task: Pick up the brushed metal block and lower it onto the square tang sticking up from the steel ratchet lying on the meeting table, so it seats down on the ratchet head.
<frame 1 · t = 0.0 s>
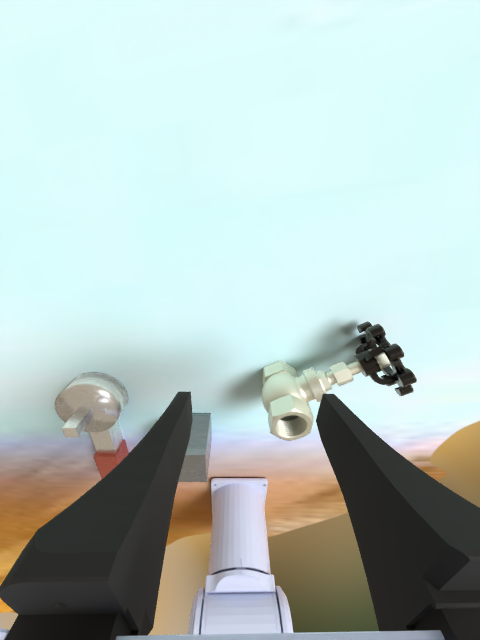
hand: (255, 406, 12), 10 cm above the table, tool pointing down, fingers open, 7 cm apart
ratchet: (100, 393, 25), on the table
brushed metal block: (193, 426, 27), on the table
valve: (311, 358, 23), on the table
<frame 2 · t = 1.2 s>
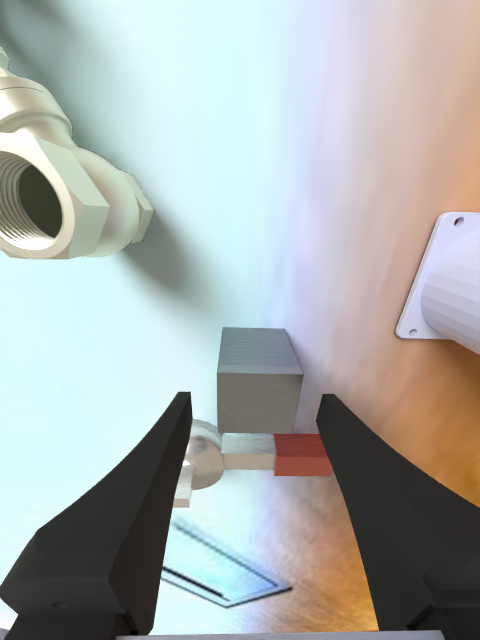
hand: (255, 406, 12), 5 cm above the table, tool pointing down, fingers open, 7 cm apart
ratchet: (192, 441, 21), on the table
brushed metal block: (252, 354, 17), on the table
valve: (71, 133, 11), on the table
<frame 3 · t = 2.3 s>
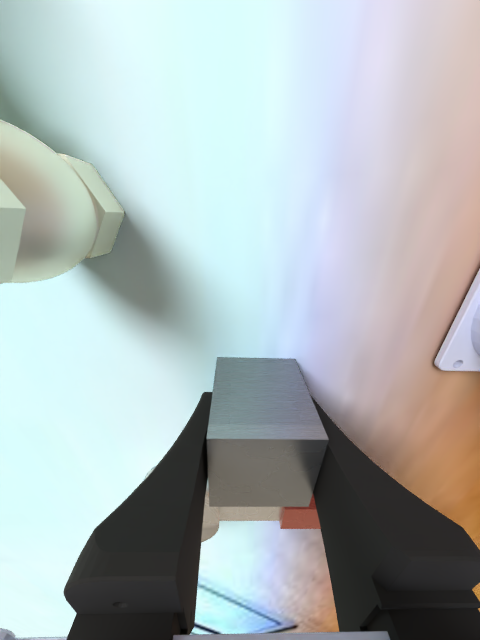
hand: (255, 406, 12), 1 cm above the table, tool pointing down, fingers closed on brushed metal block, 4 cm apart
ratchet: (183, 485, 17), on the table
brushed metal block: (254, 388, 13), on the table, touching gripper
valve: (3, 105, 8), on the table
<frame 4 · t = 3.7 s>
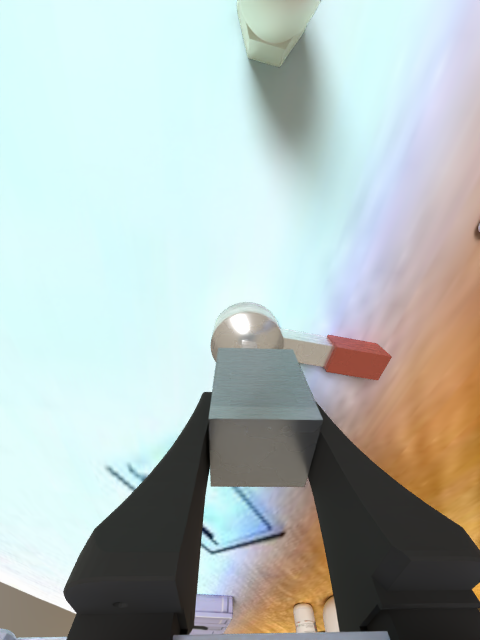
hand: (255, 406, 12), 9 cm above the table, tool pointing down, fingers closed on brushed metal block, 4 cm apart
cosmetic set: (340, 596, 49), on the table
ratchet: (246, 332, 20), on the table
brushed metal block: (253, 378, 14), point 7 cm above the table, touching gripper
gaming console: (182, 602, 51), on the table
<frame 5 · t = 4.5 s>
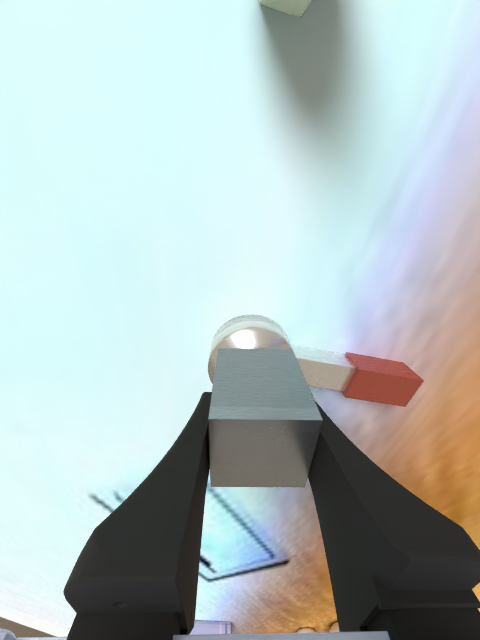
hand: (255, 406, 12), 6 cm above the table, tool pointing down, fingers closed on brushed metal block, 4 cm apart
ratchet: (250, 349, 17), on the table
brushed metal block: (253, 378, 14), point 4 cm above the table, touching gripper
gaming console: (177, 627, 48), on the table
when the fingers open (5 cm above the table, at t = 5.2 s): brushed metal block stays where it is, resting on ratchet.
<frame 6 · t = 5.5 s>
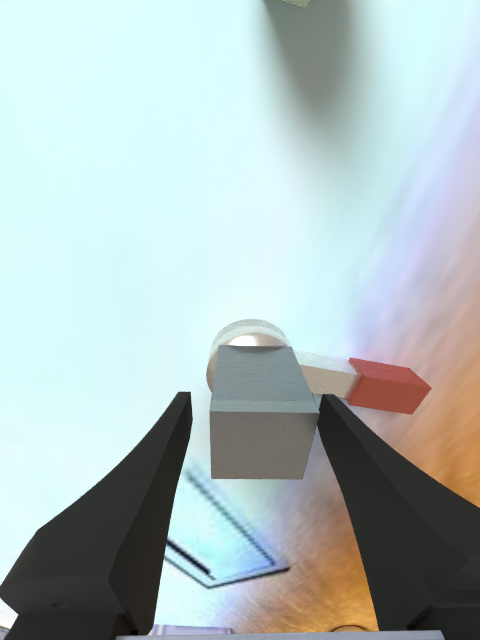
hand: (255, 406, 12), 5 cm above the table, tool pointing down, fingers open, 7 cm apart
cosmetic set: (348, 627, 45), on the table
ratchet: (250, 355, 17), on the table, touching brushed metal block
brushed metal block: (252, 375, 14), point 2 cm above the table, touching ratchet
gaming console: (176, 633, 47), on the table
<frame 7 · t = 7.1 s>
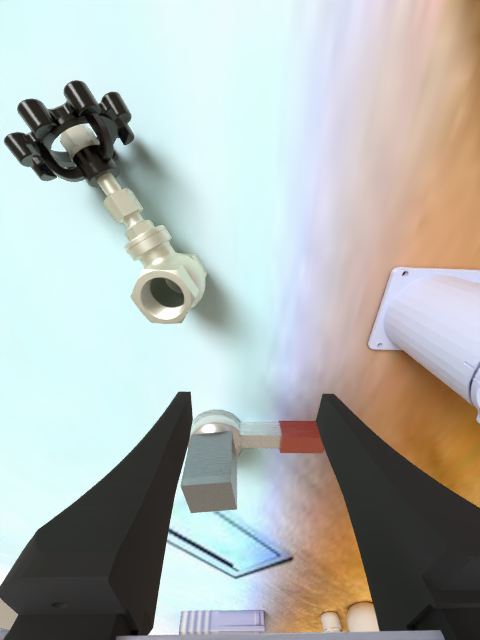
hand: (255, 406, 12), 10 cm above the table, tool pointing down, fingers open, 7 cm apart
cosmetic set: (362, 603, 54), on the table
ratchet: (216, 427, 27), on the table, touching brushed metal block
brushed metal block: (214, 446, 25), point 2 cm above the table, touching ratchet
gaming console: (222, 617, 58), on the table
valve: (158, 229, 18), on the table
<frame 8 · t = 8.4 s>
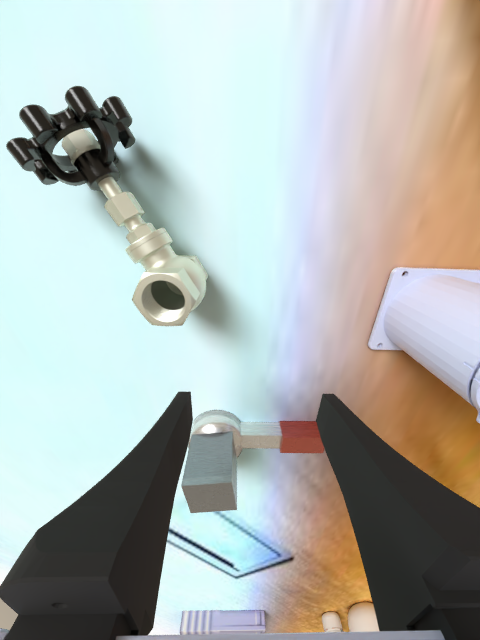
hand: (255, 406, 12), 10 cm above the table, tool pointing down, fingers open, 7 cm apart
cosmetic set: (363, 603, 54), on the table
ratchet: (217, 427, 27), on the table, touching brushed metal block
brushed metal block: (215, 446, 25), point 2 cm above the table, touching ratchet
gaming console: (223, 617, 58), on the table
valve: (159, 231, 18), on the table
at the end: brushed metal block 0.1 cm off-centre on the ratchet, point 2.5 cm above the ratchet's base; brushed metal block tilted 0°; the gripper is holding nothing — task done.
